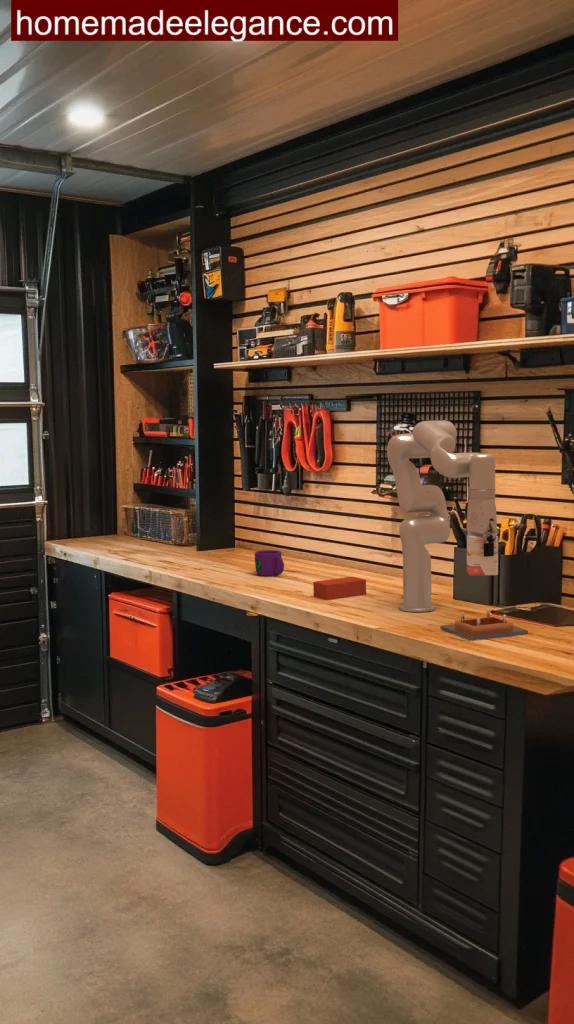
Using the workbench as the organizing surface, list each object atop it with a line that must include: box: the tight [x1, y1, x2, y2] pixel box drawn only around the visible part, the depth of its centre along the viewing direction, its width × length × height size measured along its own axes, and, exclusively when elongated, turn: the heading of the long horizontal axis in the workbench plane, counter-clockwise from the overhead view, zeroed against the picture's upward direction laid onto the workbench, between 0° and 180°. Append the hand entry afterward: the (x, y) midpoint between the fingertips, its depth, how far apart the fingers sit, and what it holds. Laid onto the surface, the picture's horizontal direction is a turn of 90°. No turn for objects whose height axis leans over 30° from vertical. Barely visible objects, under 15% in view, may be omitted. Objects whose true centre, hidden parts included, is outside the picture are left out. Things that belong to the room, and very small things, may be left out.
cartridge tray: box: [439, 608, 529, 641], centre depth 274 cm, size 17×20×6 cm
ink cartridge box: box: [466, 526, 499, 576], centre depth 272 cm, size 9×5×15 cm, turn 92°
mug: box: [254, 549, 285, 577], centre depth 385 cm, size 17×11×10 cm, turn 34°
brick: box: [312, 576, 367, 601], centre depth 337 cm, size 18×9×6 cm, turn 121°
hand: (482, 554), depth 272 cm, fingers closed on ink cartridge box, 6 cm apart
